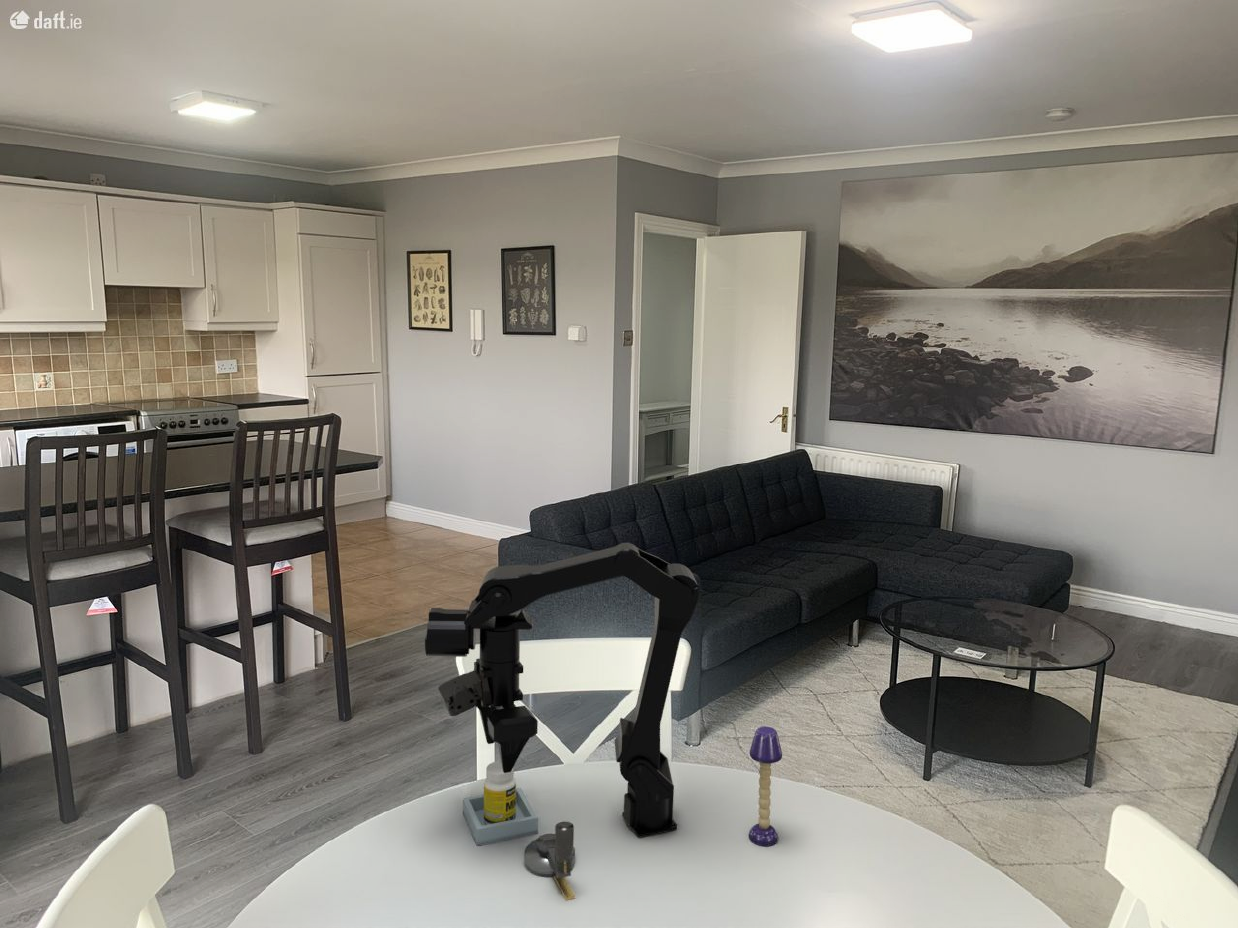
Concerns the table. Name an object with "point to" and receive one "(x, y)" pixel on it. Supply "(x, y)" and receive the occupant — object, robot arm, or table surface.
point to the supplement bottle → (499, 794)
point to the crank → (558, 848)
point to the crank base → (545, 868)
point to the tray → (503, 830)
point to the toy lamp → (765, 782)
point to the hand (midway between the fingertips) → (498, 757)
